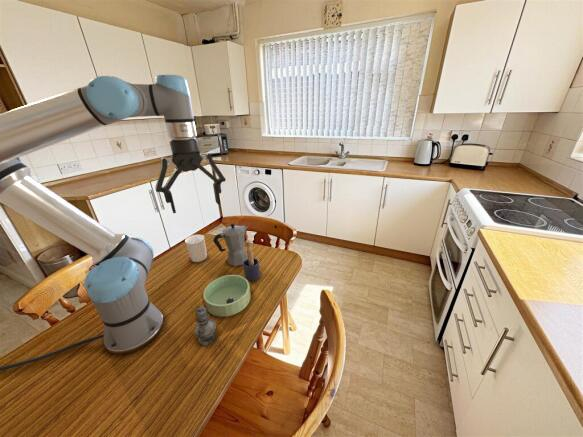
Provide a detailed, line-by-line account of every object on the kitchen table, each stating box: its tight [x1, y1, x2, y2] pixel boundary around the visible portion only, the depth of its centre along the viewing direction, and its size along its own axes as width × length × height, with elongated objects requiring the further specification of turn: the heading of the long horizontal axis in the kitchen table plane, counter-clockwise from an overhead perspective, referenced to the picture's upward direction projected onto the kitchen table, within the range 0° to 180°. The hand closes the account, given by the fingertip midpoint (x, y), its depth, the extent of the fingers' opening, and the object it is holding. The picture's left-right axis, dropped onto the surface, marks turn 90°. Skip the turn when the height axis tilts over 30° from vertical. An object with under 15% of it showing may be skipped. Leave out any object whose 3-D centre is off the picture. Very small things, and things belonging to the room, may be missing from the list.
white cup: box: [184, 234, 208, 263], centre depth 105 cm, size 8×8×10 cm
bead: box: [226, 297, 234, 304], centre depth 80 cm, size 2×2×2 cm
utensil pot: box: [242, 257, 261, 282], centre depth 92 cm, size 6×6×7 cm
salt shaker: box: [194, 306, 217, 346], centre depth 67 cm, size 6×6×12 cm
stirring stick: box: [245, 239, 254, 266], centre depth 90 cm, size 2×2×16 cm
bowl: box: [202, 274, 252, 318], centre depth 82 cm, size 15×15×5 cm
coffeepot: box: [213, 223, 249, 267], centre depth 100 cm, size 15×9×18 cm, turn 129°
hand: (197, 207), depth 77 cm, fingers open, 13 cm apart
